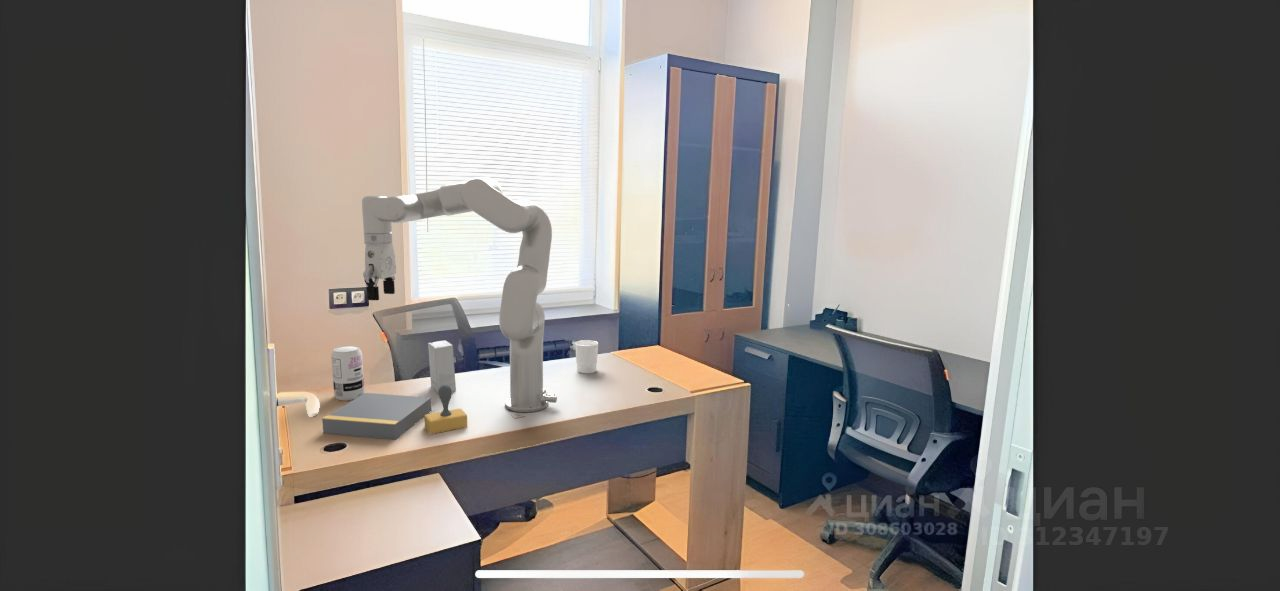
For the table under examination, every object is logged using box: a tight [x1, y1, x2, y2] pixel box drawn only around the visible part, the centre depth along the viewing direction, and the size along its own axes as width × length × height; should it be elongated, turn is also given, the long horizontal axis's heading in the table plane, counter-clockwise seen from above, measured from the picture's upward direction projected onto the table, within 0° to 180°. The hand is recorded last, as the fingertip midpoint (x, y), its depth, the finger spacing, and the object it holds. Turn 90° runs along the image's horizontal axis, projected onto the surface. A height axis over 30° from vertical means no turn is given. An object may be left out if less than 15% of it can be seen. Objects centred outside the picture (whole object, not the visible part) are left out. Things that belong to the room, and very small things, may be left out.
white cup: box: [575, 339, 599, 374], centre depth 221 cm, size 8×8×10 cm
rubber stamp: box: [423, 385, 468, 435], centre depth 169 cm, size 10×6×12 cm, turn 123°
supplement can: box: [330, 345, 365, 402], centre depth 189 cm, size 8×8×15 cm
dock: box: [321, 392, 433, 440], centre depth 172 cm, size 20×20×4 cm
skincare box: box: [427, 339, 457, 395], centre depth 198 cm, size 8×6×15 cm
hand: (381, 296), depth 187 cm, fingers open, 9 cm apart
